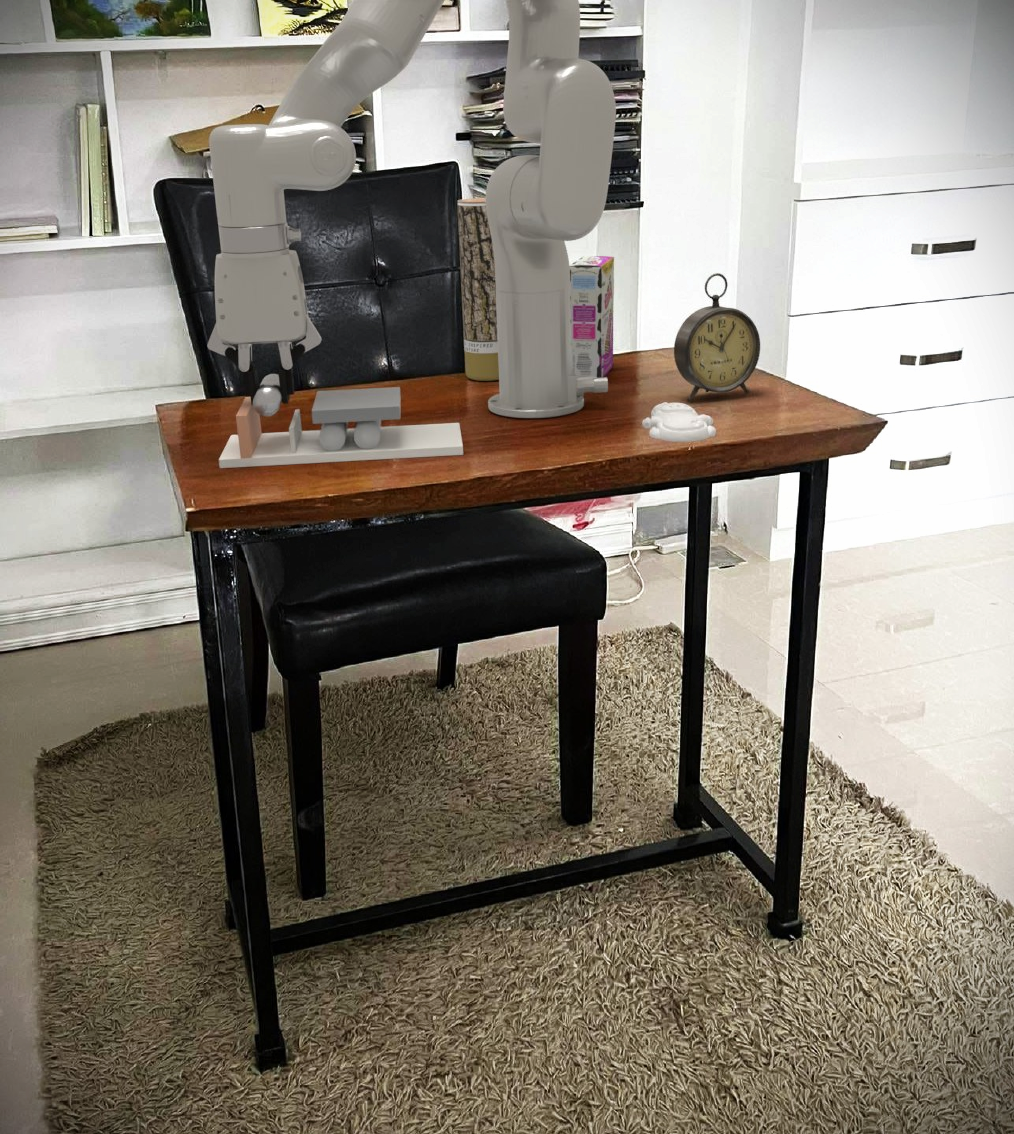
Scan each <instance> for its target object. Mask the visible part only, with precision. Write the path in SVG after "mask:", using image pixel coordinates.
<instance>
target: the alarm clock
mask: <svg viewBox="0 0 1014 1134" xmlns="http://www.w3.org/2000/svg"><path fill="white" fill-rule="evenodd" d="M716 276H717V277H720V278H722V279H723V282H724V290H723V292H722V293H721V294H720V295H718V294H713V295H712V296H711V294H709V292H708V284H709V282H710V280H711V279H713V278H714V277H716ZM727 289H728V279H727V278H726V277H725V275H724V274H722V273H719V272H718V273H717V272H716V273H713V274H710V276H708V278H707V279H706V280H705V283H704V291H705V294H706V295H707V297H708V298H709V299H711V300H712V305H711V306H708V305H707V306H706V307H705V306H704V307H701V308H699V309H697V310H696V311H694V312H693V313H691V314H690V315H688V317H687V318H686V319H685V320H684V321H683V322H682V324H681V326H680V327H679V329H678V331H677V333H676V336H675V340H674V344H673V345H674V346H673V357H674V362H675V366H676V368H677V371H678V372H679V374H680V376H681V377H682V378H683V380H685V381H686V382H687V383H689V384H690V385H692V386H693V389H692V391H691V393H690V395H689V397H688V398H687V402H689V403H691V402H693V398H694V397H695V396H696V395H697V393H698V392H699V390H701V389H703V390H705V393H709V392H712V393H716V394H717V393H718V394H719V393H720V394H721V393H726V392H730V391H733V390H736V389H737V388H739V387H740V388H741V389H742V390H743V391H744V393H745V394H747V395H748V394H749V393H750V390H749V389H748V388H747V387H746V384H745V382H747V380H749V378H750V377H751V376H752V374H753V372H754V371H755V369H756V367H757V365H758V362H759V359H760V354H761V338H760V333H759V330H758V328H757V326H756V324H755V322H754V321H753V319H752V318H750V317H749V316H748V315H747V314H746V313H745V312H744V311H741V310H739V309H737V308H733V307H727V306H726V307H725V306H720V298H723V296H724V295H725V294H726V293H727Z"/></svg>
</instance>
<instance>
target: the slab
mask: <svg viewBox="0 0 1014 1134" xmlns="http://www.w3.org/2000/svg"><path fill="white" fill-rule="evenodd" d="M401 399H402V398H401V387H400V386H392V387H391V386H390V387H389V386H388V387H371V388H370V387H369V388H355V389H353V388H351V389H335V390H333V389H332V390H317V391H316V395H315V399H314V401H313V404H312V408H311V417H312V424H314V425H315V424H322V423H337V422H348V423H351V422H352V423H353V422H355V423H356V421H374V420H381V421H388V420H391V421H392V420H401V411H402V410H401V408H402V406H401V401H402V400H401Z"/></svg>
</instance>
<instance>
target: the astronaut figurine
mask: <svg viewBox="0 0 1014 1134" xmlns="http://www.w3.org/2000/svg"><path fill="white" fill-rule="evenodd" d="M713 425H714V420H713V417H711V416H710V415H706V414H704V413H702V414H698V413H697V411H696V410H695V409H694V408H693V407H692V406H691V405H688V404H686V403H681V402H669V403H668V402H666V401H664V402H662V403H658V404H656V405H655V406H653V408H652V410H651V412H650V417H646V418H644V419H642V423H641V426H642V428H643V429H646V430H647V429H648V430H649V433H648V434H649V437H650V438H651V439H655V440H657V439H658V440H662V441H665V442H674V443H689V442H691V443H692V442H699V441H703V440H707V439H709V438H711V437H712V438H713V437H715V436H716V435H717V430H716V428H715V426H713Z"/></svg>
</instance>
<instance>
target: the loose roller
mask: <svg viewBox="0 0 1014 1134" xmlns="http://www.w3.org/2000/svg"><path fill="white" fill-rule="evenodd" d="M281 401H282V395H281V392H280V383H279V373H278V374H277V373H270V374H268V375H265V376H264V378H262V381H261V382H260V383H259V389H258V391H257V393H256V395H255V397H254V399H253V407H254V409H255V411H256V412H257V413H258V414H259V415H260V416H262V417H272V416H274V415H275V414H277V412H279V409H280V406H281V404H282V402H281Z"/></svg>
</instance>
